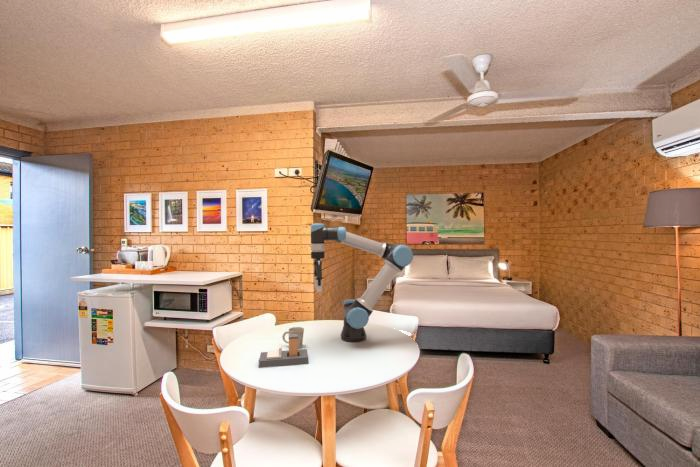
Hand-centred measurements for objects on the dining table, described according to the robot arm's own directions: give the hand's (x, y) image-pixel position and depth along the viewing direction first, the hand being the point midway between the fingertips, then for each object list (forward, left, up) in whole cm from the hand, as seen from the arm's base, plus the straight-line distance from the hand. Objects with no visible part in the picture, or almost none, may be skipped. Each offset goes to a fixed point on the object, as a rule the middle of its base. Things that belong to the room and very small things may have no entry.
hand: (318, 289), depth 179 cm
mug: (+14, -4, -32) cm, 35 cm away
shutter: (+23, +16, -28) cm, 40 cm away
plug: (+14, +16, -31) cm, 38 cm away
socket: (+18, +16, -32) cm, 40 cm away
